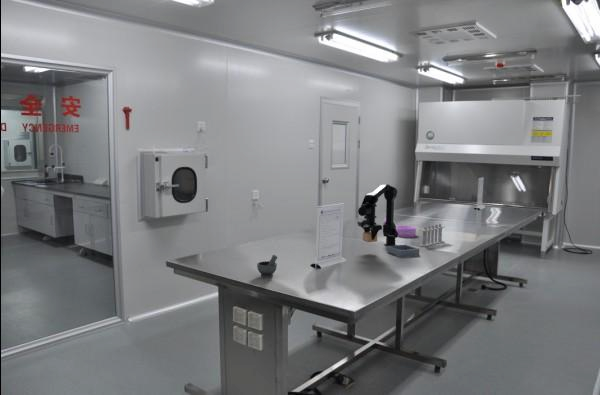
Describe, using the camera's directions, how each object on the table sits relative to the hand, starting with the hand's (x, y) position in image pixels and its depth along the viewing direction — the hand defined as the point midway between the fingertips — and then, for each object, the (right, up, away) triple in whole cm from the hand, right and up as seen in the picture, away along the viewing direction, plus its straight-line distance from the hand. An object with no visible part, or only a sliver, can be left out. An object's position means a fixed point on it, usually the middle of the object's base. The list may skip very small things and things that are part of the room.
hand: (369, 238), depth 290 cm
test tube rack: (+47, -7, +29) cm, 56 cm away
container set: (+31, -3, +62) cm, 69 cm away
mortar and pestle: (-60, -15, -55) cm, 83 cm away
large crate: (+20, -9, -1) cm, 23 cm away
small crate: (0, -1, 0) cm, 1 cm away
